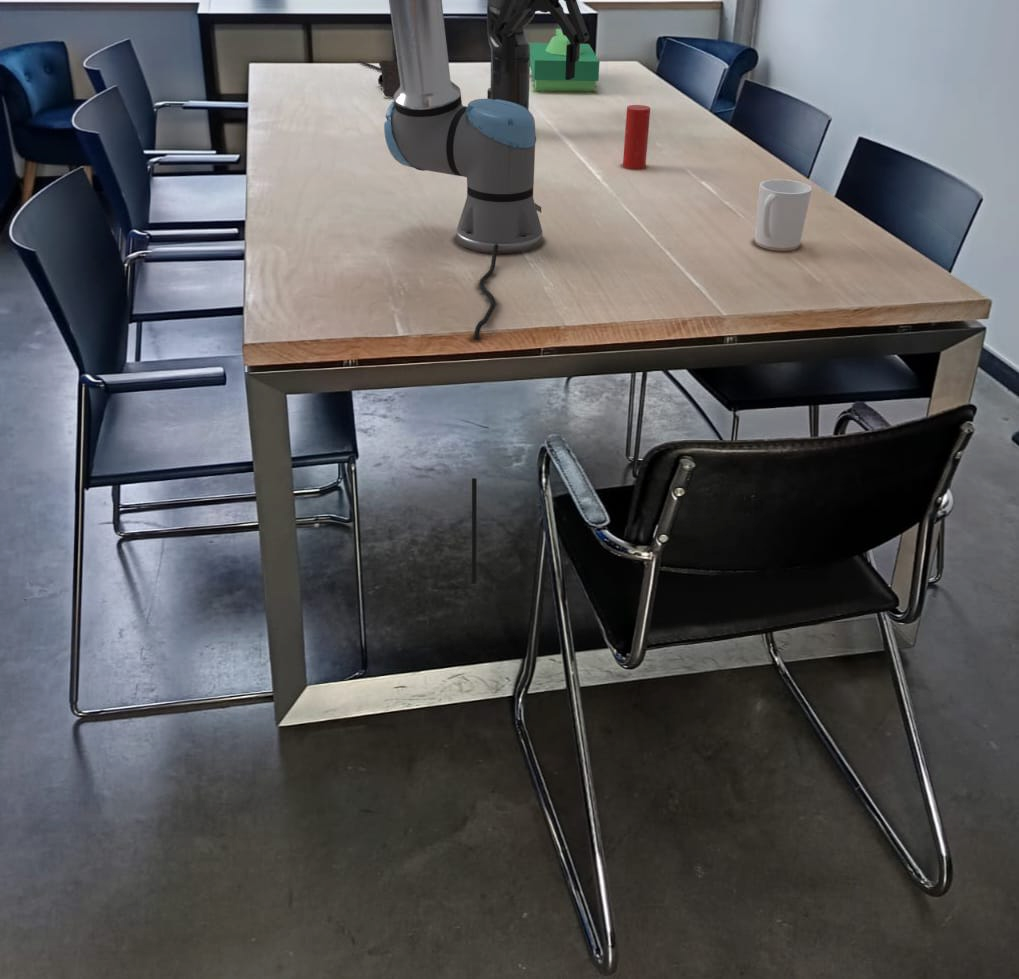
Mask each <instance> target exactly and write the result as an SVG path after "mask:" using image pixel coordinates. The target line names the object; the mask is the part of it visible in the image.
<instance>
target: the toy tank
mask: <svg viewBox="0 0 1019 979" xmlns="http://www.w3.org/2000/svg"><path fill="white" fill-rule="evenodd" d="M529 44H530V74H531V75H530V76H532V77H533V81H534V91H535V92H536V91H538V92H595V89H596V82H599V78H600V77H599V76H600V62H601V61H600V60H599V58H598V57H597V55H596V53H595V52H594V50H593V48H592V47H591V45H590V43H581V44H580V53H579V60H578V61H577V62H575V78H572V79H570V80H565V75H566V47H567V45H568V44H570V42H569V40H568V38H567V37H566V35H565V34H564V32H563V31H562V29H561V28H555V35H554V36H553V37H551V39H550V41H549V42H529Z"/></svg>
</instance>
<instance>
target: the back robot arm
mask: <svg viewBox="0 0 1019 979" xmlns="http://www.w3.org/2000/svg"><path fill="white" fill-rule="evenodd" d="M524 1H525V0H516V3H515V5H514V7H513V9H512V12H511V14H510V16H509V19H508V21H507V23H506V25H507V24H508V23H509V21H510V20H511V19H512V17H513V16H514V15H515V14H516V12H517V11H518V10H519V7H520V6H521V4H522V3H523V2H524ZM504 2H505V0H487V3H486V22H487V23H486V25H487V26H486V29H487V39H488V44H489V49H490V87H488V89H487V92H486V94H487V97H486V99H492V100H496V99H498V100H504V101H509V102H512V103H515V104H518V105H521V106H523V107H525V108H526V109H528V110H529V109H530V76H531V75H530V74H531V68H530V44H529V43H530V42H529V40H528V38H527V36H526V33H525V26H527V25H528V24H529V23H530V22H531V21H532V20H533V19H534V16H535V14H536V12H534V11H532V10H530V11H529V12H528V13H527V15H526V16H525V17H524V18H523V20H522V21H521V22H520V24H519V25H518V26H517V28H516V29H515V30H514V31H513V33H512V35H510V36H515V70H514V71H511V72H505V54H503V53H502V37H501V35H500V34H498V33H494V31H493V28H494V25H495V23H496V21H497V18H498V16H499V14H500V11H501V9H502V7H503V4H504ZM506 25H505V27H506ZM357 63H358V64H360V65H363V66H367V67H370V68H372V69H375V70H377V71H380V72H381V69H380V66H376V65H374V64H371V63H368V62H365V61H362V60H357ZM529 111H530V110H529Z"/></svg>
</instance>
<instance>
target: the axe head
mask: <svg viewBox="0 0 1019 979" xmlns="http://www.w3.org/2000/svg"><path fill="white" fill-rule="evenodd" d="M378 67H379V68H380V69H381V71H380V72H381V74H379V75H378V79H377V84H378V85H379V86H380V87H381V88H382V89H383V95H384V96H385V97H388V98H394V94H395V93H396V91H397V90H398V89H399V88H400V86H401V84H400V77H399V70H398V63H397V60H388V59H387V60H380V61H379V62H378Z"/></svg>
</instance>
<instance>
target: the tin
mask: <svg viewBox="0 0 1019 979" xmlns="http://www.w3.org/2000/svg"><path fill="white" fill-rule="evenodd" d="M625 114H626V117H625V128H624V129H625V130H624V142H623V144H624V145H623V156H622V167H623V168H624V169H628V170H643V169H645V168H646V165H647V153H648V144H649V143H648V141H649V130H650V129H649V128H650V119H651V118H650V117H651V107H650V106H648V105H645V104H644V105H643V104H632V105H631V104H630V105H628V106H626V113H625Z"/></svg>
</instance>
